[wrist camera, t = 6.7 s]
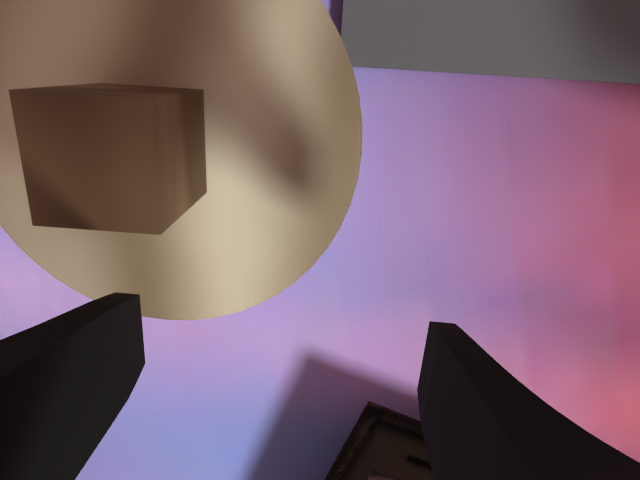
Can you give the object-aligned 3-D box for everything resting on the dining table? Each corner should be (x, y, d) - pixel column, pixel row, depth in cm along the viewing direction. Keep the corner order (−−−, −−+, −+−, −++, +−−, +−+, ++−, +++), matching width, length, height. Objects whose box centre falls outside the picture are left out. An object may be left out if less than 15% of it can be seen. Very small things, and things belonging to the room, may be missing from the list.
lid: (381, -88, 13) (401, -171, 8) (345, 321, 17) (345, 411, 13) (-77, -111, 13) (-297, -202, 9) (8, 295, 18) (-106, 374, 13)
